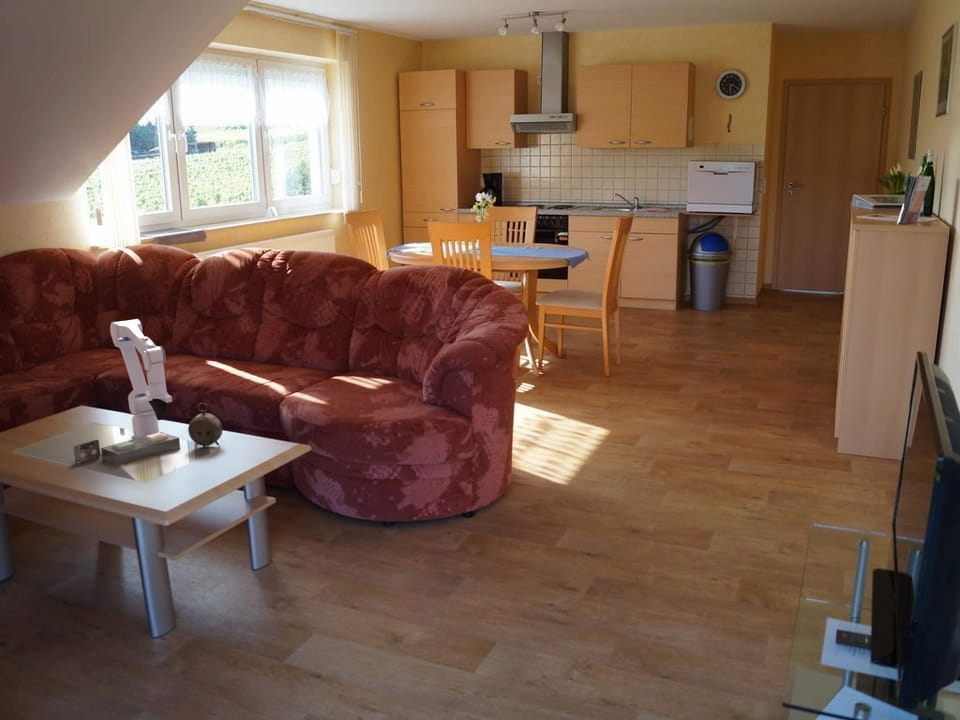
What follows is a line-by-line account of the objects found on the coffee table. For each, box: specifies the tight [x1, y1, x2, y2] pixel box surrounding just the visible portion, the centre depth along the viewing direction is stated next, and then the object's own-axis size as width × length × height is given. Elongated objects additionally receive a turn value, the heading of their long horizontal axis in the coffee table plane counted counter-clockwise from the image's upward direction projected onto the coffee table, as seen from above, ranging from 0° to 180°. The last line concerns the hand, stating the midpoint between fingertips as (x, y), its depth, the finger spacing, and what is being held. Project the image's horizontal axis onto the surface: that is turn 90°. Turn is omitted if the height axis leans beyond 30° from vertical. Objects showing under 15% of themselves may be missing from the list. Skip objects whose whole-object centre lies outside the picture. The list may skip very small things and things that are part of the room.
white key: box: [146, 432, 167, 442], centre depth 301 cm, size 5×5×4 cm
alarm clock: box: [187, 402, 223, 450], centre depth 299 cm, size 11×5×16 cm, turn 84°
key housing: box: [100, 431, 181, 467], centre depth 296 cm, size 12×22×4 cm, turn 140°
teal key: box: [112, 440, 135, 451], centre depth 292 cm, size 5×5×4 cm
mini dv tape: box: [73, 439, 102, 463], centre depth 292 cm, size 8×2×6 cm, turn 144°
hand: (161, 419), depth 304 cm, fingers closed
